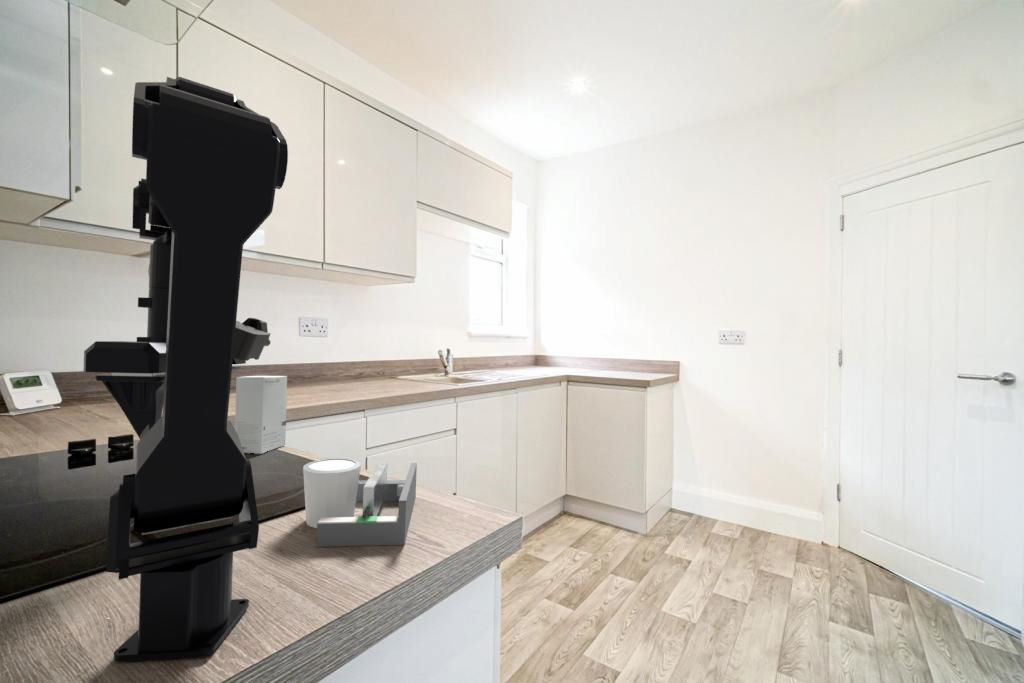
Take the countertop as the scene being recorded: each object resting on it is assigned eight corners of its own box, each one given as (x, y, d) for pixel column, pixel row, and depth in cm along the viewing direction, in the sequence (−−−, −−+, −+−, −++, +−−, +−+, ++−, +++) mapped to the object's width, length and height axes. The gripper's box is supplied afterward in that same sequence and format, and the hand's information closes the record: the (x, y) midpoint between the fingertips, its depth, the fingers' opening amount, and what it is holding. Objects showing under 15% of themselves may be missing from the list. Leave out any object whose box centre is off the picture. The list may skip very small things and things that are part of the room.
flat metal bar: (369, 533, 50) (370, 494, 50) (358, 533, 50) (359, 494, 50) (386, 493, 64) (387, 461, 64) (377, 493, 64) (378, 461, 64)
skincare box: (260, 455, 87) (263, 377, 87) (231, 453, 87) (234, 376, 87) (286, 445, 95) (289, 374, 95) (259, 443, 96) (262, 373, 96)
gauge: (404, 544, 51) (406, 500, 51) (316, 546, 50) (318, 501, 50) (415, 497, 66) (416, 463, 66) (348, 497, 65) (349, 463, 65)
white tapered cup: (339, 533, 53) (342, 474, 53) (288, 526, 55) (290, 469, 55) (368, 512, 60) (370, 460, 60) (322, 507, 61) (324, 455, 61)
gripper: (217, 284, 41) (211, 455, 41) (289, 301, 60) (285, 419, 60) (81, 278, 40) (75, 455, 40) (198, 298, 58) (194, 418, 58)
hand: (177, 433), depth 50 cm, fingers open, 9 cm apart
